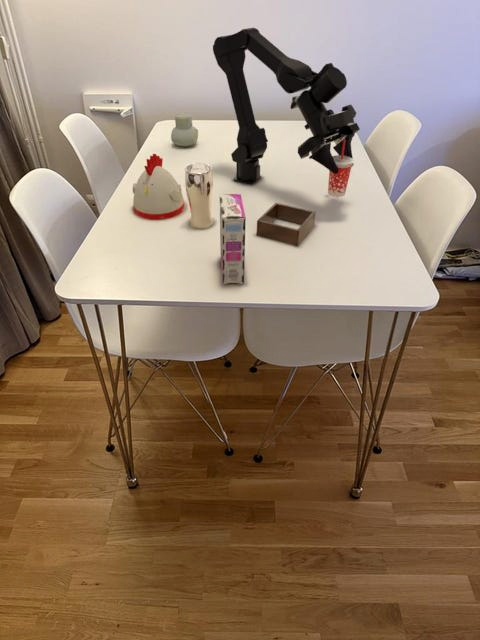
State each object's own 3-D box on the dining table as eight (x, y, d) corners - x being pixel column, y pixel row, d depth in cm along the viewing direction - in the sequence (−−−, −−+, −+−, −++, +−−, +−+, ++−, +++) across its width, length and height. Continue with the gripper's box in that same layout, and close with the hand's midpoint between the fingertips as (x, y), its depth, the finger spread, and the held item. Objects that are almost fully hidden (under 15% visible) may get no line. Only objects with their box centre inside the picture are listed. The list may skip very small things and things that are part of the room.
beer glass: (218, 219, 124) (216, 164, 114) (208, 231, 119) (206, 175, 109) (194, 215, 126) (191, 161, 116) (184, 227, 121) (179, 171, 111)
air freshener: (177, 138, 172) (175, 110, 166) (199, 139, 171) (198, 111, 165) (170, 148, 164) (167, 119, 157) (193, 150, 163) (191, 120, 156)
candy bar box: (245, 284, 101) (246, 217, 91) (222, 285, 101) (221, 218, 90) (241, 257, 110) (241, 192, 99) (220, 258, 109) (218, 193, 99)
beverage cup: (349, 198, 119) (358, 144, 110) (325, 197, 120) (333, 143, 110) (346, 188, 124) (355, 135, 115) (324, 187, 124) (331, 134, 115)
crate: (256, 235, 117) (256, 220, 115) (274, 216, 125) (275, 202, 122) (297, 246, 113) (299, 231, 111) (314, 226, 121) (316, 211, 118)
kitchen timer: (125, 214, 126) (115, 160, 116) (149, 194, 136) (142, 142, 126) (170, 223, 122) (164, 168, 113) (192, 201, 132) (188, 149, 122)
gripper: (312, 102, 104) (344, 164, 105) (360, 87, 113) (389, 144, 115) (283, 129, 113) (313, 186, 114) (330, 113, 123) (357, 165, 124)
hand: (344, 169), depth 117 cm, fingers closed on beverage cup, 6 cm apart
